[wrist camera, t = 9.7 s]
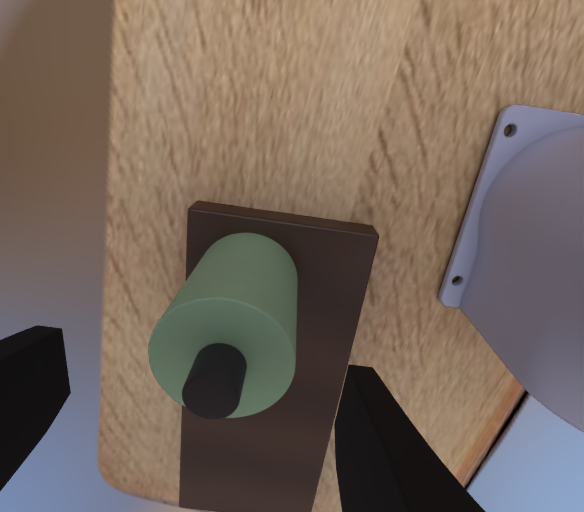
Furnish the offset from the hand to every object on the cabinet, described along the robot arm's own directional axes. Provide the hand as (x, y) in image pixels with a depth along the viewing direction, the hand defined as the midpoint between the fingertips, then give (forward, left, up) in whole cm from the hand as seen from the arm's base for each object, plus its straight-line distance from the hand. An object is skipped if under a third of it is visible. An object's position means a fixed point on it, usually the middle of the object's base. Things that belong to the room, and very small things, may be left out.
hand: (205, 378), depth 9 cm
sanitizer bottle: (-1, 0, -8) cm, 8 cm away
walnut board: (-8, -1, -9) cm, 12 cm away
